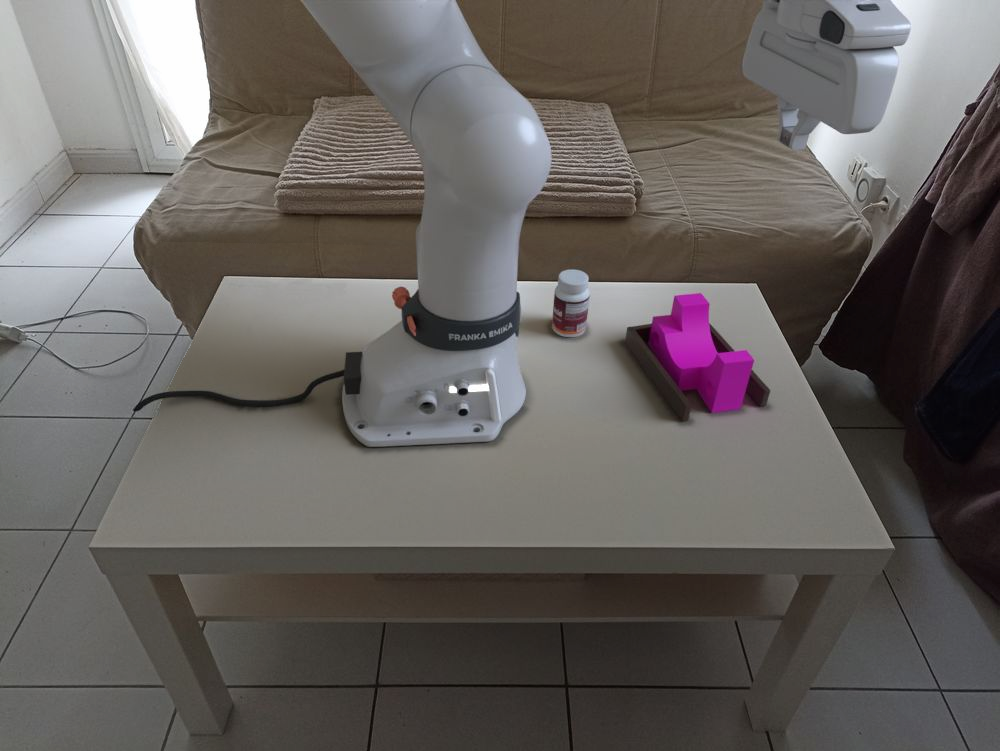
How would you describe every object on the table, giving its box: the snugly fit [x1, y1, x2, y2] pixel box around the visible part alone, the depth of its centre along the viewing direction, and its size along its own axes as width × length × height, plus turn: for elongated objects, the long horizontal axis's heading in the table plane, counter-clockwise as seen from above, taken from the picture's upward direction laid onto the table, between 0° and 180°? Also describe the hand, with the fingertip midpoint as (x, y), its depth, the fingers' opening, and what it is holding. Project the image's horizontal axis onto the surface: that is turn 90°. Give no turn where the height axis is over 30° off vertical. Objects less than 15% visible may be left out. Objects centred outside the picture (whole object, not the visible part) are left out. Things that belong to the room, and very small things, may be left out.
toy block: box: [647, 292, 755, 414], centre depth 95 cm, size 15×6×8 cm, turn 12°
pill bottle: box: [551, 268, 591, 338], centre depth 102 cm, size 5×5×8 cm
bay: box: [624, 322, 771, 422], centre depth 97 cm, size 11×17×2 cm
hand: (790, 145), depth 82 cm, fingers closed
